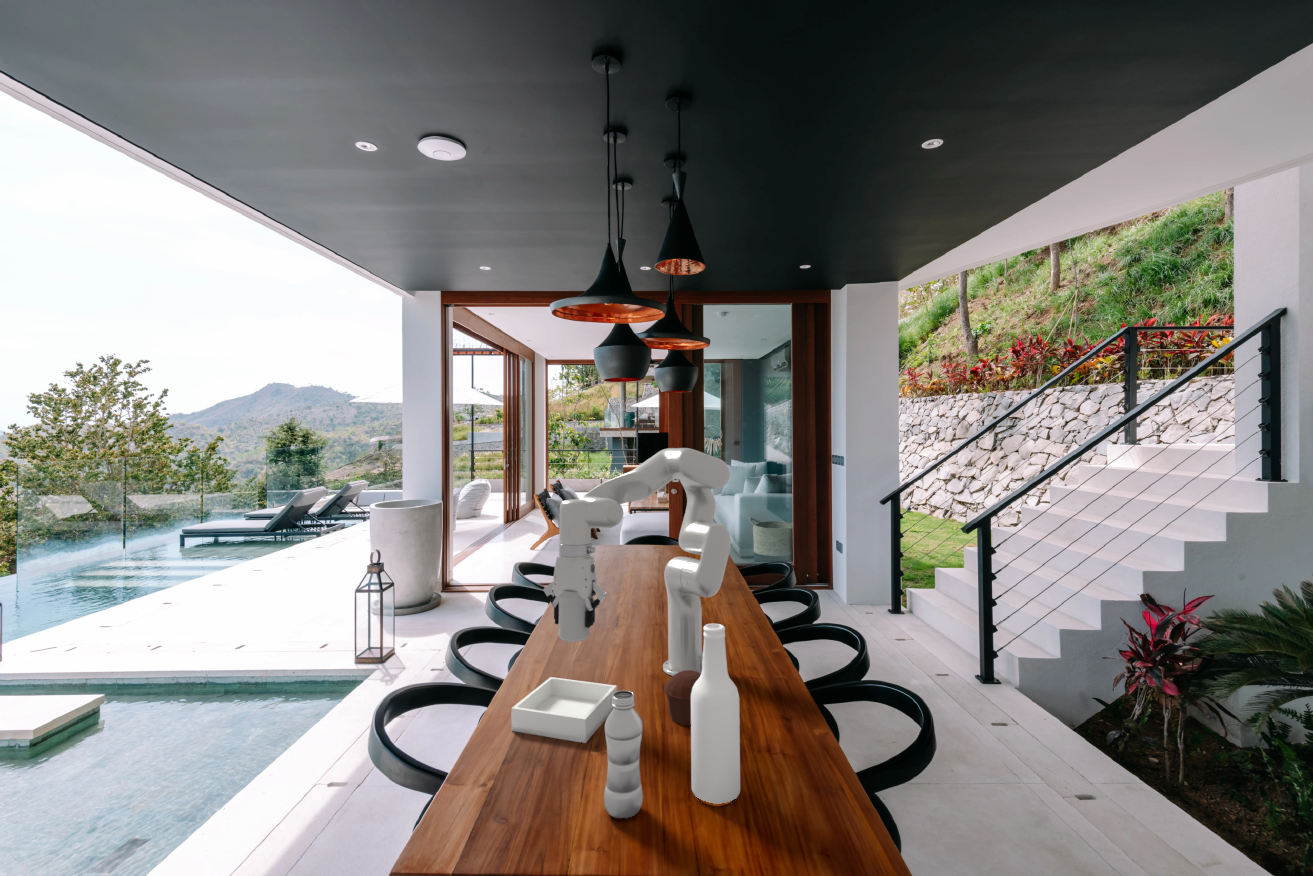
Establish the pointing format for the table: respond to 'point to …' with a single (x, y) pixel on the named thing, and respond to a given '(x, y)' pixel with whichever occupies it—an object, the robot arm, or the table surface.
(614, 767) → the plastic bottle
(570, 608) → the can
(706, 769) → the alcohol
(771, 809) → the table surface
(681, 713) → the muffin
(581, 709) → the tote
